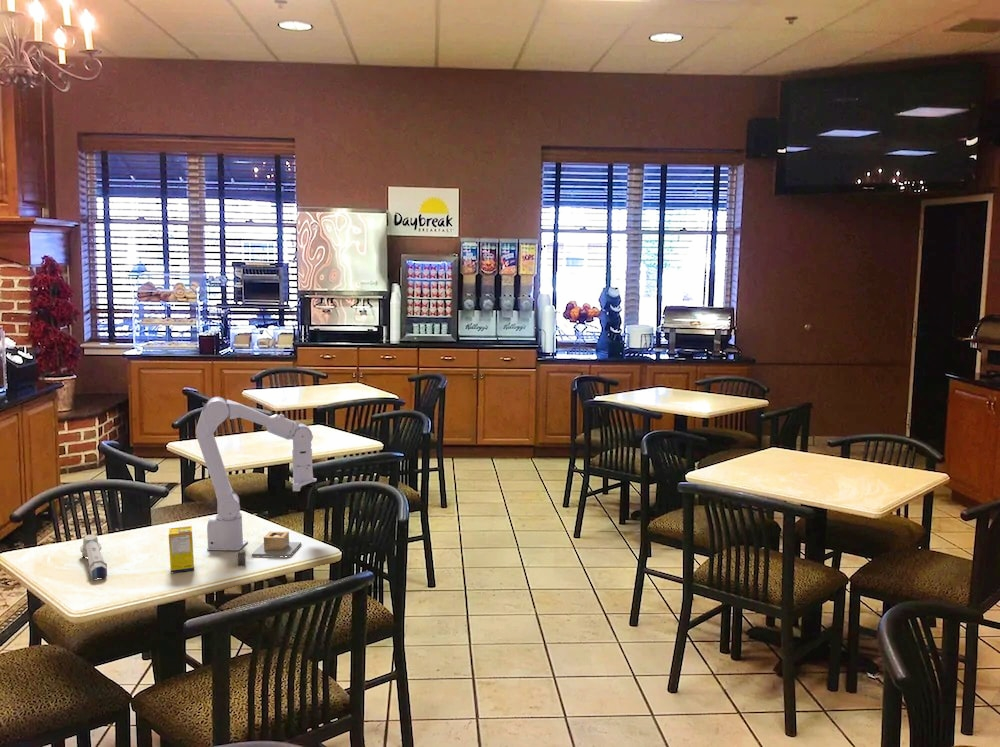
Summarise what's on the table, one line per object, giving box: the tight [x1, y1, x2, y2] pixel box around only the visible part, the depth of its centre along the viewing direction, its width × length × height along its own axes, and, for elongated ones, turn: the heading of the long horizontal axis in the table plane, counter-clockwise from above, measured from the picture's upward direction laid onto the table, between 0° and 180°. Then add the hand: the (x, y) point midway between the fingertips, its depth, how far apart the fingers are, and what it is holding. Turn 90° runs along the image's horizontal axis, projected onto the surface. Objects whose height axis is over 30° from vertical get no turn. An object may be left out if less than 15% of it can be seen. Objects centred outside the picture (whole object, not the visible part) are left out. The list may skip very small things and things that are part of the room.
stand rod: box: [236, 550, 246, 567], centre depth 231 cm, size 2×2×4 cm
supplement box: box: [168, 525, 195, 573], centre depth 227 cm, size 6×6×11 cm
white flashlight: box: [79, 534, 108, 580], centre depth 230 cm, size 5×7×25 cm
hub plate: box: [251, 535, 302, 558], centre depth 242 cm, size 11×11×4 cm
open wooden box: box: [263, 531, 290, 551], centre depth 242 cm, size 6×6×4 cm
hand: (303, 508), depth 252 cm, fingers closed
